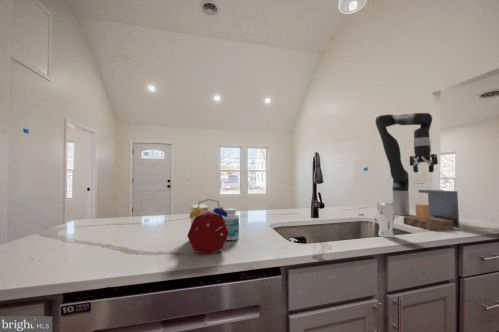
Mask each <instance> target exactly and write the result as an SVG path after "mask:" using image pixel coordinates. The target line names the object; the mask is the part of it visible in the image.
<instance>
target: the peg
mask: <svg viewBox="0 0 499 332" xmlns="http://www.w3.org/2000/svg"><path fill="white" fill-rule="evenodd" d="M415 216H416V219H420V220H429V204H424V203H422V204H421V203H417V204H416V203H415Z"/></svg>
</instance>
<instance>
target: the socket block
mask: <svg viewBox="0 0 499 332" xmlns="http://www.w3.org/2000/svg"><path fill="white" fill-rule="evenodd" d="M403 225H407V226H412V227H415V228H419V229H423V230H427V231H434V230H449V229H450V228H451V229H454V228H455V227H454V224H453V221H452V220H447V219H441V218H436V217H430V216H429V220H420V219H416V215H413V216H403Z"/></svg>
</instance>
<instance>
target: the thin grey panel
mask: <svg viewBox="0 0 499 332" xmlns="http://www.w3.org/2000/svg"><path fill="white" fill-rule="evenodd" d="M418 193H420V194H421V193H422V194H427V197H428V198H427V201H428V205H429V216H430V217H436V218H441V219H447V220H452V221H453V224H454V228H456V229H460V216H459V214H460V213H459V212H460V211H459V199H458V191H456V190H455V191H454V190H441V189H440V190H439V189H418Z"/></svg>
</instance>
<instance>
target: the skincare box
mask: <svg viewBox="0 0 499 332" xmlns="http://www.w3.org/2000/svg"><path fill="white" fill-rule="evenodd" d="M190 207H191V208H190V210H191V211H190V213H191V212H192V211H194V208H195V209H196V208H197V207H198V204H192V205H190ZM206 207H207V209H206V210H205V212H203V213H202V214H204V213H206V212H208V211H209V206H208V205H206V204H205V203H204V204H203V203H202V204H199V208H197V209H200V208H202V209H203V210H204V209H205V208H206ZM202 214H200V215H202ZM198 216H199V215H198ZM195 217H197V216H195ZM195 217H193V218H190V226H191V225H192V223H193V221H194V219H195Z"/></svg>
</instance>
